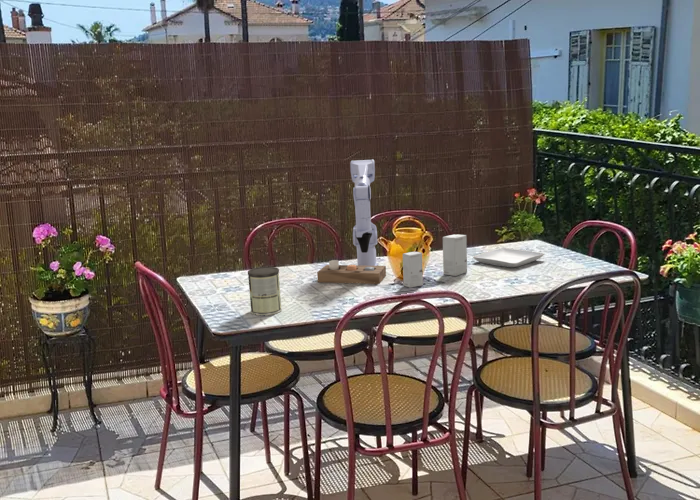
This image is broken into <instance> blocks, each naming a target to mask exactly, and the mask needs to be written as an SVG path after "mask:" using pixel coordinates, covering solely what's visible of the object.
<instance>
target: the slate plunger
mask: <svg viewBox="0 0 700 500" xmlns="http://www.w3.org/2000/svg"><path fill="white" fill-rule="evenodd" d="M365 271H374V267H365Z"/></svg>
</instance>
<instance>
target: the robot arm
mask: <svg viewBox="0 0 700 500" xmlns="http://www.w3.org/2000/svg"><path fill="white" fill-rule="evenodd" d="M349 167H350V175H351V181H352V183H354V187H353V189H352V190H353V191H352V193H353V195H352V196H353V202H354V203H353V204H354V208H355V209H354V211H355V225H354V226H353V228H352V242H353V243H352V244H353V245H354V247H356V259H357V260H356V261H357V263H356V264H357V265H365V266H379V265H380V264H379V262H377V250H376V247H375V246H376V245H377V244H378V229H377V226H376V224H374V223H373V222H372V218H371V198H372V189H371V188H372V187H371V186H370V185H371V183H373V182H374V181H375V178H376V177H375V176H376V175H375V174H376V168H375V160H374V159H373V158H372V159H364V160H363V159H358V160H353V159H352V160H351V161H350V165H349Z"/></svg>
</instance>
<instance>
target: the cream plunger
mask: <svg viewBox="0 0 700 500" xmlns="http://www.w3.org/2000/svg"><path fill="white" fill-rule="evenodd" d="M328 263H329V264H328V265H329V267H330V270H339V265H340V264H339V263H340V262H339V260H338V259H332V260H329V261H328Z"/></svg>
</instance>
